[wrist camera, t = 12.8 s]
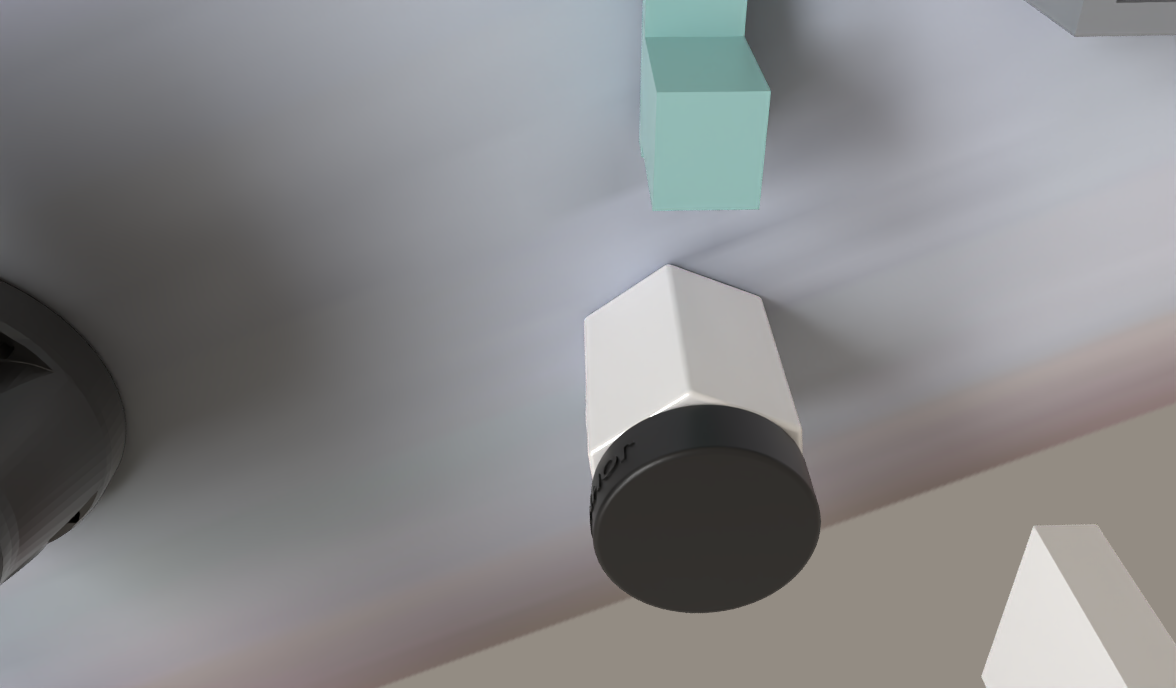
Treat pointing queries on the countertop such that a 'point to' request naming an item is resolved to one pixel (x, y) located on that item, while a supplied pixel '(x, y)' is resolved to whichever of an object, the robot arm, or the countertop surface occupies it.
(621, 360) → the jar
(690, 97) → the teal t-shaped block
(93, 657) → the countertop surface
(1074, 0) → the tub
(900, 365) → the countertop surface
